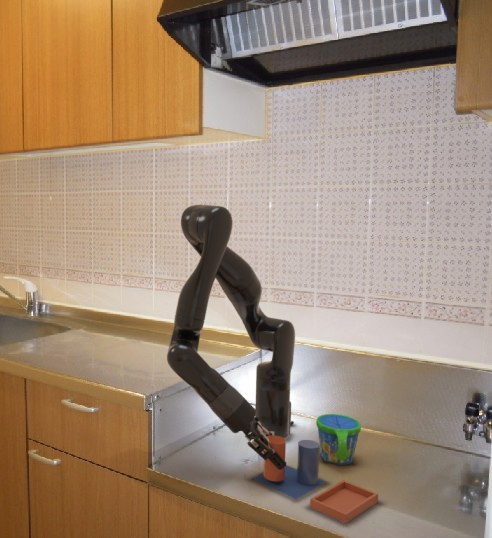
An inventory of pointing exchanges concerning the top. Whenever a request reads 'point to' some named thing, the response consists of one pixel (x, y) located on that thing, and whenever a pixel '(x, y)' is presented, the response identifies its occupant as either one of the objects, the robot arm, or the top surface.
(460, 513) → the top surface
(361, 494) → the terracotta tray
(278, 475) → the terracotta cylinder
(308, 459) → the blue cylinder
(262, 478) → the blue mat
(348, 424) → the snack cup
